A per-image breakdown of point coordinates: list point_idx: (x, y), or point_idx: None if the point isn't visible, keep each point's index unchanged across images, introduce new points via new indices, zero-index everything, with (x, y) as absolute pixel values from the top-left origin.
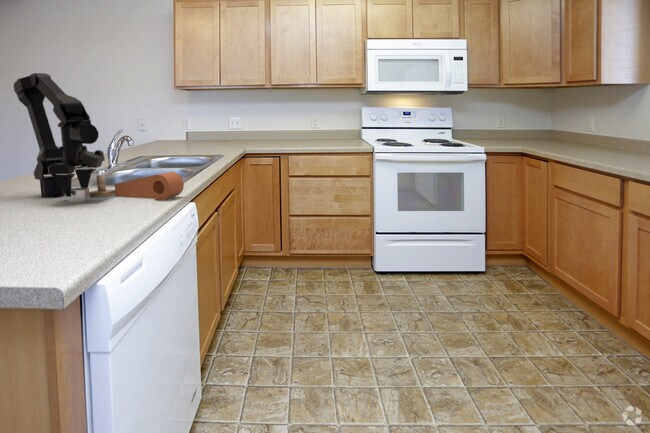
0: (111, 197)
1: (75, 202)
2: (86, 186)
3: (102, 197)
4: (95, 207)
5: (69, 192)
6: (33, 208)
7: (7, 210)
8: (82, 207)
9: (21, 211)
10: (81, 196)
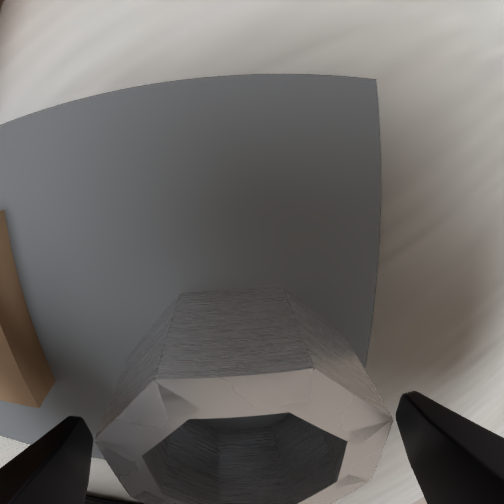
0: (5, 148)
1: (356, 338)
2: (56, 453)
3: (23, 245)
4: (463, 67)
5: (447, 412)
6: None
7: None
8: (475, 180)
9: (498, 420)
10: (326, 338)
